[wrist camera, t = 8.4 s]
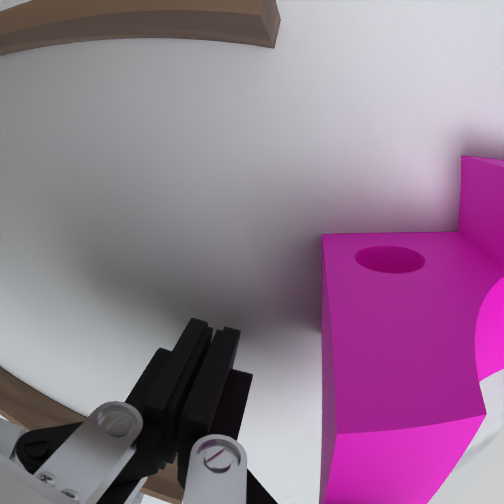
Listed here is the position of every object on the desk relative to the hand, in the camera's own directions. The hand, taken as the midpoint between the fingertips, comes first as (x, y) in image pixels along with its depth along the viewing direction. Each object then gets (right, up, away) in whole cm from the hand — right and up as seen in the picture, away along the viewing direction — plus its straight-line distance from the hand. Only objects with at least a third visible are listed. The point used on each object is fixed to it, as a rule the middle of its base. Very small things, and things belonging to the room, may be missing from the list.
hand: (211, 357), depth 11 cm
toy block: (+11, +4, -1) cm, 12 cm away
